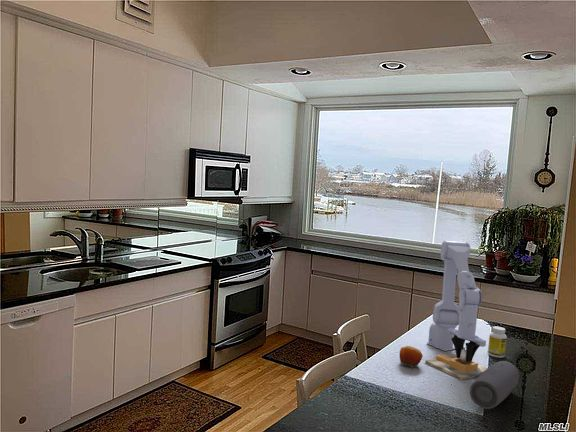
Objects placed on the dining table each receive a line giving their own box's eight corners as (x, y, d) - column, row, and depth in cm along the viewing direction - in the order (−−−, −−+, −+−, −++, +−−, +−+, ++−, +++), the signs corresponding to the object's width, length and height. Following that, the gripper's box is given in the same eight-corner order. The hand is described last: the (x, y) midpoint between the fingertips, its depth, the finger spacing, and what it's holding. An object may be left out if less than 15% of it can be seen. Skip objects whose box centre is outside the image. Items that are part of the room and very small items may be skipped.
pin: (456, 364, 169) (458, 347, 169) (462, 362, 172) (464, 346, 171) (466, 367, 167) (468, 351, 166) (471, 366, 169) (473, 349, 168)
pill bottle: (502, 359, 183) (505, 331, 183) (485, 355, 187) (488, 327, 186) (506, 355, 188) (509, 328, 188) (490, 351, 192) (492, 324, 191)
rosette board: (425, 362, 174) (425, 359, 174) (453, 356, 183) (454, 353, 183) (464, 381, 160) (464, 377, 160) (493, 373, 169) (493, 370, 169)
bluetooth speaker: (489, 384, 159) (492, 355, 159) (519, 393, 154) (522, 363, 153) (465, 406, 142) (469, 374, 141) (498, 418, 136) (502, 384, 135)
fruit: (394, 363, 168) (399, 341, 171) (398, 368, 174) (403, 347, 178) (417, 369, 164) (422, 346, 168) (421, 374, 171) (425, 352, 174)
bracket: (433, 359, 176) (433, 352, 176) (445, 356, 180) (445, 349, 179) (465, 373, 164) (465, 366, 164) (477, 370, 168) (478, 363, 168)
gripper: (443, 317, 172) (439, 354, 173) (478, 329, 159) (474, 369, 160) (456, 315, 175) (452, 351, 176) (491, 327, 163) (487, 365, 164)
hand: (463, 359), depth 169 cm, fingers closed on pin, 4 cm apart
